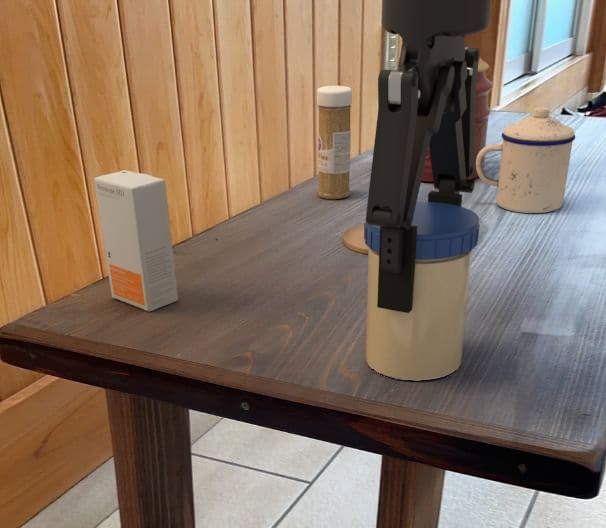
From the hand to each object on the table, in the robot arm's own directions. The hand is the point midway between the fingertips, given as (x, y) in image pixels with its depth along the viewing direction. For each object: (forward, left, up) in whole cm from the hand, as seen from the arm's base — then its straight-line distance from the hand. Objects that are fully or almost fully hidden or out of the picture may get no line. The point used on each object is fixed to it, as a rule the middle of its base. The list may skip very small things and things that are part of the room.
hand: (417, 288), depth 71 cm
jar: (0, 0, -6) cm, 6 cm away
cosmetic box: (+29, -9, -7) cm, 31 cm away
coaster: (+7, -33, -6) cm, 34 cm away
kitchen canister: (+5, -66, -7) cm, 67 cm away
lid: (0, 0, +5) cm, 5 cm away
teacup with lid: (-7, -51, -7) cm, 52 cm away
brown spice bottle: (+18, -51, -7) cm, 54 cm away
